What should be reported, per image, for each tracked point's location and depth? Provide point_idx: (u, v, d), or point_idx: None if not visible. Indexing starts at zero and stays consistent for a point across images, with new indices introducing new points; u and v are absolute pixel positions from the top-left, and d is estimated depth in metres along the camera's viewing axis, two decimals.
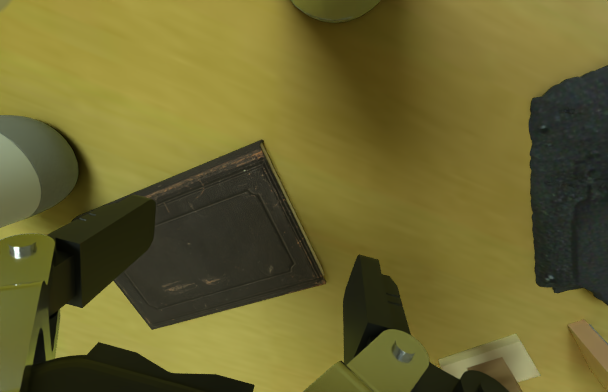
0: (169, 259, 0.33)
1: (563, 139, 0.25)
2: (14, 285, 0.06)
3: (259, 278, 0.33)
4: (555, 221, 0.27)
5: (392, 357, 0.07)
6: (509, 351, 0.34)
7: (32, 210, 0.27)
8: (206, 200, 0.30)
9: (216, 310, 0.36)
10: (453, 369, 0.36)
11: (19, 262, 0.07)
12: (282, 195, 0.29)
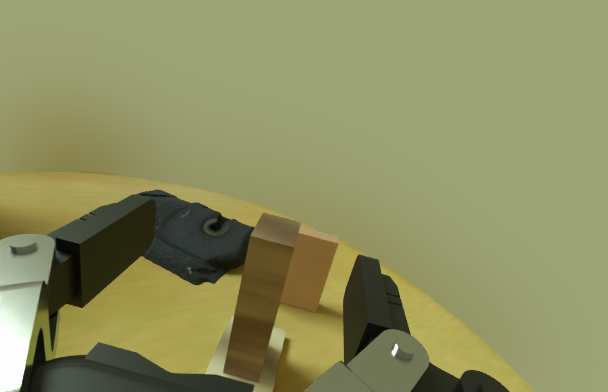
0: None
1: None
2: (14, 285, 0.06)
3: None
4: (154, 246, 0.40)
5: (392, 357, 0.07)
6: None
7: None
8: None
9: None
10: None
11: (19, 262, 0.07)
12: None
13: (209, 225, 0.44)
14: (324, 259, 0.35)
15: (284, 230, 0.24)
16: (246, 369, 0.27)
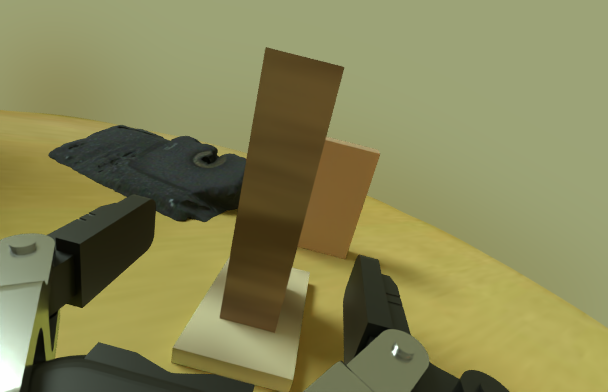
0: None
1: (85, 154, 0.33)
2: (14, 285, 0.06)
3: None
4: (127, 176, 0.30)
5: (392, 357, 0.07)
6: None
7: None
8: None
9: None
10: (201, 335, 0.16)
11: (19, 261, 0.07)
12: None
13: (201, 157, 0.34)
14: (359, 179, 0.25)
15: None
16: (256, 310, 0.17)
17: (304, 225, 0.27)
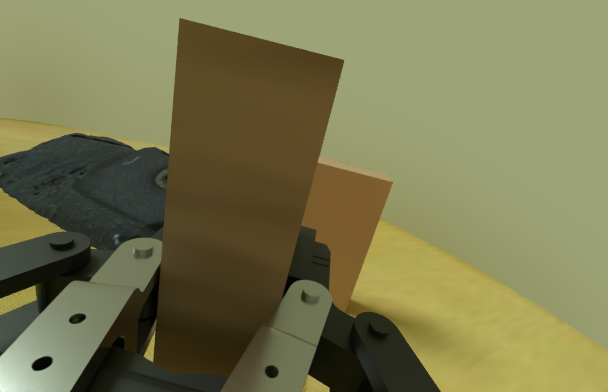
0: None
1: (22, 171, 0.27)
2: (113, 287, 0.06)
3: None
4: (66, 202, 0.24)
5: (297, 299, 0.08)
6: None
7: None
8: None
9: None
10: None
11: (134, 263, 0.08)
12: None
13: (166, 176, 0.28)
14: (365, 214, 0.19)
15: None
16: None
17: None
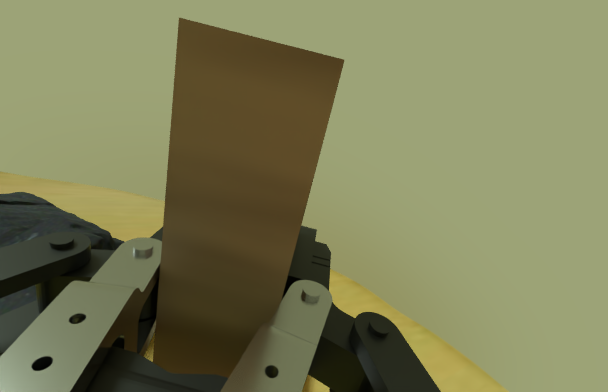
0: None
1: None
2: (113, 287, 0.06)
3: None
4: None
5: (297, 299, 0.08)
6: None
7: None
8: None
9: None
10: None
11: (134, 262, 0.08)
12: None
13: None
14: None
15: None
16: None
17: None
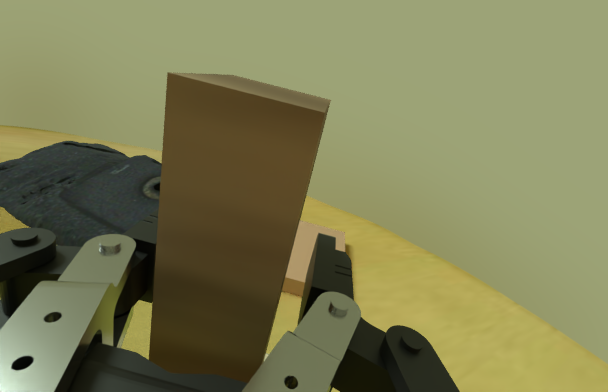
0: None
1: (11, 180, 0.27)
2: (86, 283, 0.06)
3: None
4: (52, 212, 0.24)
5: (325, 313, 0.08)
6: None
7: None
8: None
9: None
10: None
11: (102, 259, 0.08)
12: None
13: (154, 185, 0.28)
14: None
15: (288, 94, 0.08)
16: None
17: (293, 261, 0.25)
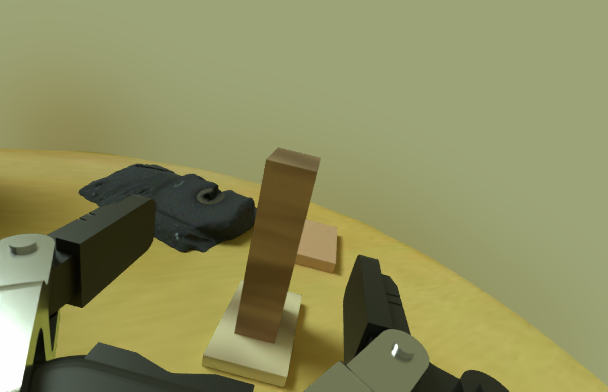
0: None
1: (108, 192, 0.40)
2: (14, 285, 0.06)
3: None
4: None
5: (392, 357, 0.07)
6: None
7: None
8: None
9: None
10: (222, 346, 0.23)
11: (19, 262, 0.07)
12: None
13: (203, 194, 0.40)
14: (330, 233, 0.43)
15: (303, 160, 0.21)
16: (261, 328, 0.23)
17: (301, 245, 0.38)
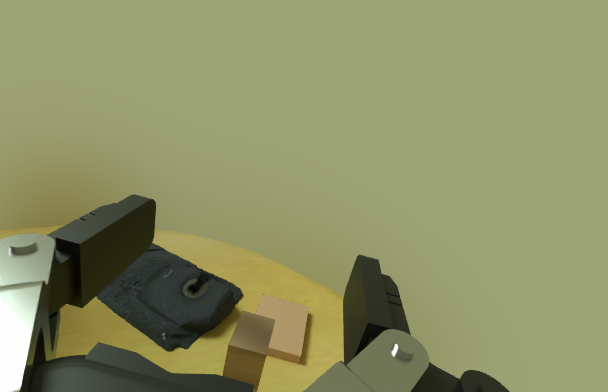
0: None
1: None
2: (14, 285, 0.06)
3: None
4: (134, 309, 0.43)
5: (392, 357, 0.07)
6: None
7: None
8: None
9: None
10: None
11: (19, 262, 0.07)
12: None
13: (188, 286, 0.47)
14: (301, 315, 0.49)
15: (259, 332, 0.27)
16: None
17: (273, 335, 0.45)
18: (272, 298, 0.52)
